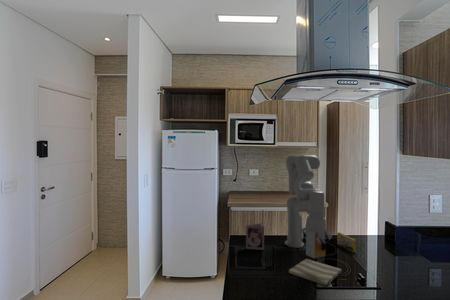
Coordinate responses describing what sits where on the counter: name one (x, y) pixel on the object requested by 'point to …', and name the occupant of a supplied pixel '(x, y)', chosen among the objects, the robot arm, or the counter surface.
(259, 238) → the greeting card
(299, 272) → the birch board
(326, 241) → the robot arm
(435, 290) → the counter surface
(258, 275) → the counter surface
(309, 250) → the small box
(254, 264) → the counter surface
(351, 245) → the candy box
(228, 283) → the counter surface
